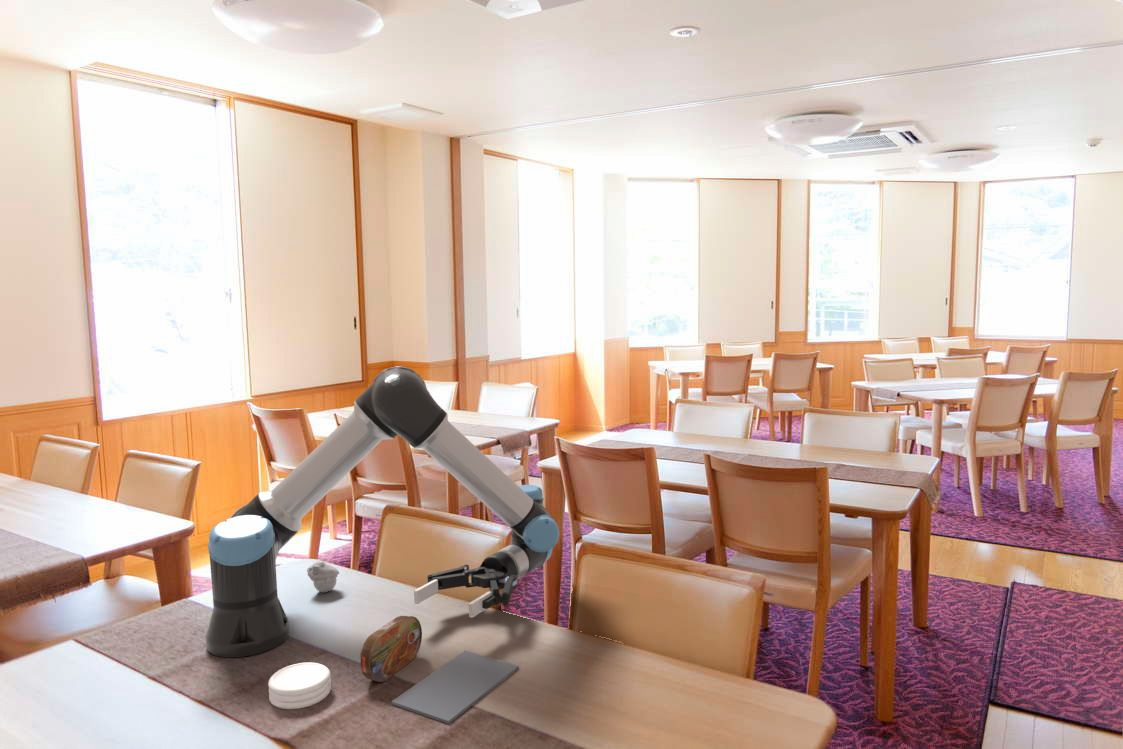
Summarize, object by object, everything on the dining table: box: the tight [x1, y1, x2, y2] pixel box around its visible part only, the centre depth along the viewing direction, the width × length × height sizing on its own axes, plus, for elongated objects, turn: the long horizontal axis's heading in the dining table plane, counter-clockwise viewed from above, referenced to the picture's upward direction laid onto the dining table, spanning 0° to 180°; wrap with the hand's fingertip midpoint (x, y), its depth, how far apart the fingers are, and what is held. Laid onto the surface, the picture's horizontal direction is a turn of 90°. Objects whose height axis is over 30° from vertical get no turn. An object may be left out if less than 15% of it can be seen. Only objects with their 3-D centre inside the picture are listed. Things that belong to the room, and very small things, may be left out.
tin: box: [359, 615, 423, 683], centre depth 139 cm, size 15×3×8 cm, turn 155°
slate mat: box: [391, 650, 519, 725], centre depth 133 cm, size 12×20×1 cm, turn 150°
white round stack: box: [267, 662, 332, 710], centre depth 131 cm, size 10×10×4 cm
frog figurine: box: [306, 560, 340, 593], centre depth 174 cm, size 6×7×7 cm
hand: (442, 603), depth 151 cm, fingers open, 13 cm apart
